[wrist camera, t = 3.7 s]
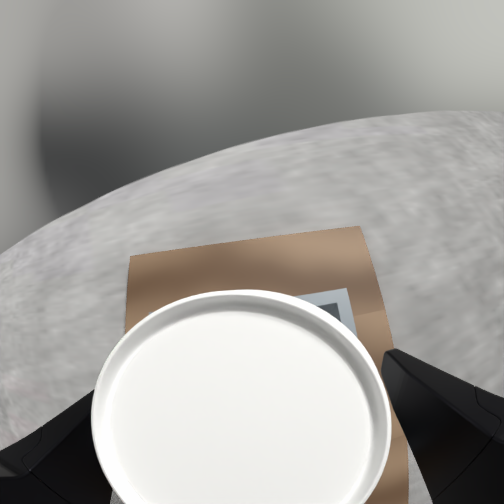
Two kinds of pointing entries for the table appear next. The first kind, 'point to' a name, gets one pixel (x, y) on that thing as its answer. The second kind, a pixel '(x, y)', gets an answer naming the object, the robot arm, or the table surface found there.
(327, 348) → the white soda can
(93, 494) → the robot arm
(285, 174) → the table surface
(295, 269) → the brown slab
